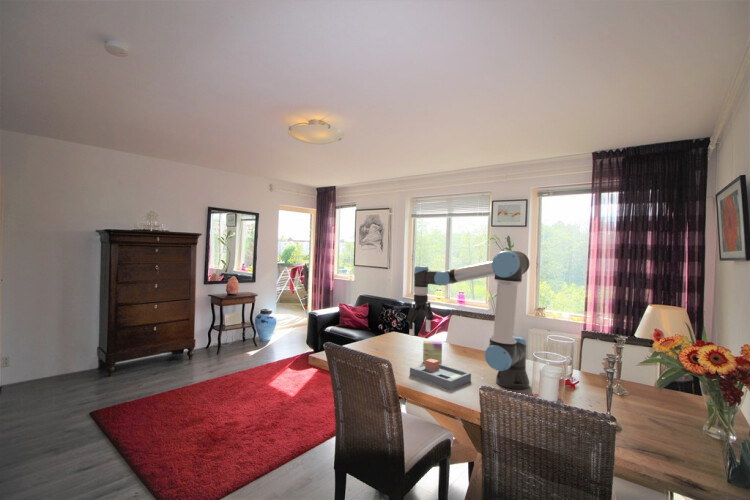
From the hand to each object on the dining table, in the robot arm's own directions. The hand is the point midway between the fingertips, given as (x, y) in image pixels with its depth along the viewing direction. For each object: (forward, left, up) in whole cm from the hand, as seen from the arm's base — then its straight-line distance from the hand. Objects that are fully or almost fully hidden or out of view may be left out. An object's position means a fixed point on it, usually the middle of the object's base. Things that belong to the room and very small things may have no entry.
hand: (420, 333), depth 194 cm
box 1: (+2, -14, -19) cm, 24 cm away
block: (-9, +1, -17) cm, 19 cm away
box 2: (-17, +4, -19) cm, 26 cm away
